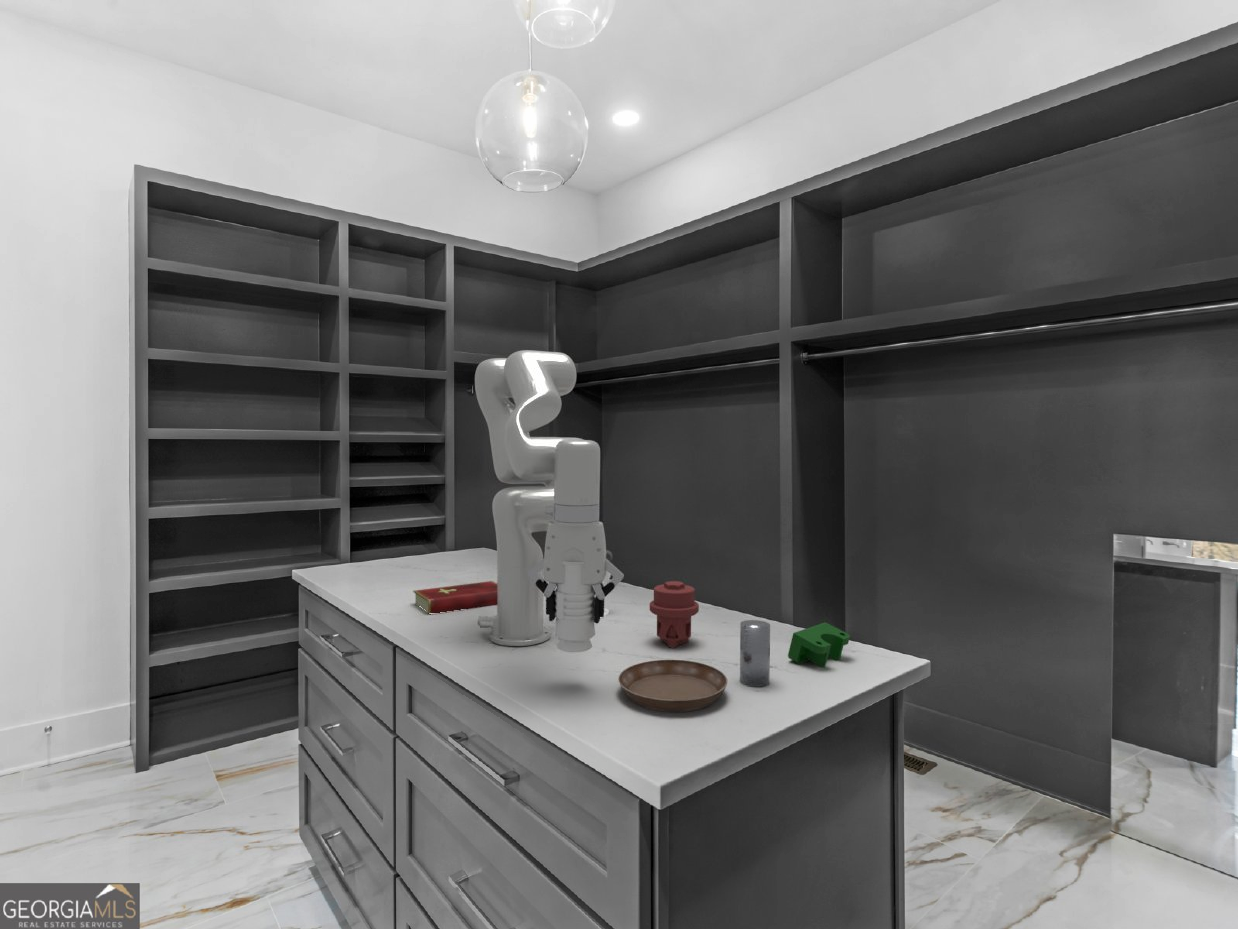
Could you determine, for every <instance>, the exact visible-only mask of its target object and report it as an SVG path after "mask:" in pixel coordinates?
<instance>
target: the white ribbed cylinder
mask: <svg viewBox="0 0 1238 929" xmlns="http://www.w3.org/2000/svg"><path fill="white" fill-rule="evenodd" d="M562 564H564V565H565V566H564V567H565V583H563V584H557V586H556V588H555V590H554V591H555V595H556V597H555V602H556V604H555V609H556V610H555V616H556V618H555V627H554V636H555V637H556V638H558V639H559V641H558V643H557V645H556V646H557V649H558V650H560V651H563V652H566V653H583V652H587V651H589V650H591V649H592V648H593V644H592V641H591V639H592V638H593V637H594V636H596V630H595V629H596V627H595V622H594V600H595V598H596V597H595V596H594V595H595V594H596V593H595V591H594V589H593V587H592V585H583V584H581V579H580V570H581V568H582V567H581V565H583V564H585V562H578V561H562Z"/></svg>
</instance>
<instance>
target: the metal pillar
mask: <svg viewBox="0 0 1238 929" xmlns="http://www.w3.org/2000/svg"><path fill="white" fill-rule="evenodd" d="M739 625H740V627H739V628H740V631H739V637H740V639H739V640H740V641H739V642H740V643H739V644H740V646H739V682H740V683H741V684H742V685H743V686H747V687H751V688H763V687H767V686H769V685H770V677H771V676H770V675H771V674H770V673H771V672H770V671H771V670H770V669H771V667H770V666H771V664H770V662H771V660H770V659H771V624H770V623H769V622H767V621H763V620H756V619H747V620H743V621H741V622H740V624H739ZM768 684H769V685H768Z"/></svg>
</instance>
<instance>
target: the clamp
mask: <svg viewBox="0 0 1238 929" xmlns="http://www.w3.org/2000/svg"><path fill="white" fill-rule="evenodd" d="M850 638H851V635H850V634H849V633H847V632H846V631H844V630H841V629H840V628H837V627H835V626H833V624H832V625H831V624H829V623H828V622H822V623H819V624H817V625H813V626H810V627H807V628H804V629H801V630H798V631H795V632H793V634H792V637H791V640H790V641H791V642H790V645H789V649H788V652H787V653H788V654H787V658H788V659H790V660H791V661H793V662H794V663H796V664H798V665H799V664H802V663H805V662H808V661H811V662H813V663H814V664H817V665H819V666H820V667H822V668H826V665H827V661H828V658H831V659H833V660H834V661H836V662H840V660H841V655H842V652H843V649H844V646H846V645H848V644H849V642H850Z"/></svg>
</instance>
